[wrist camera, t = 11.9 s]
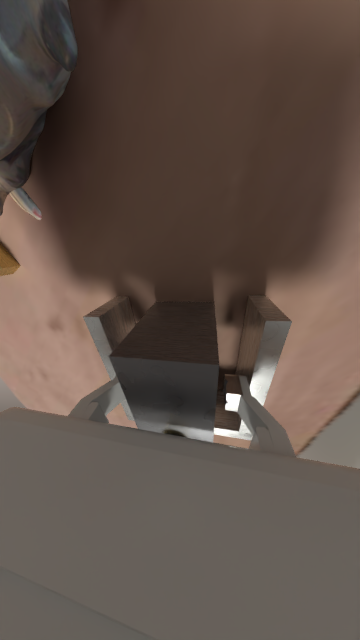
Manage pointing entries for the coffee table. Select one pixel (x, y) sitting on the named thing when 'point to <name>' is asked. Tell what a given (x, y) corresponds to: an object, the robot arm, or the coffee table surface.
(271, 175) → the coffee table surface
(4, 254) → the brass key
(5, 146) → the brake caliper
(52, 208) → the coffee table surface
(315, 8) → the coffee table surface
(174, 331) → the block
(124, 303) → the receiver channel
